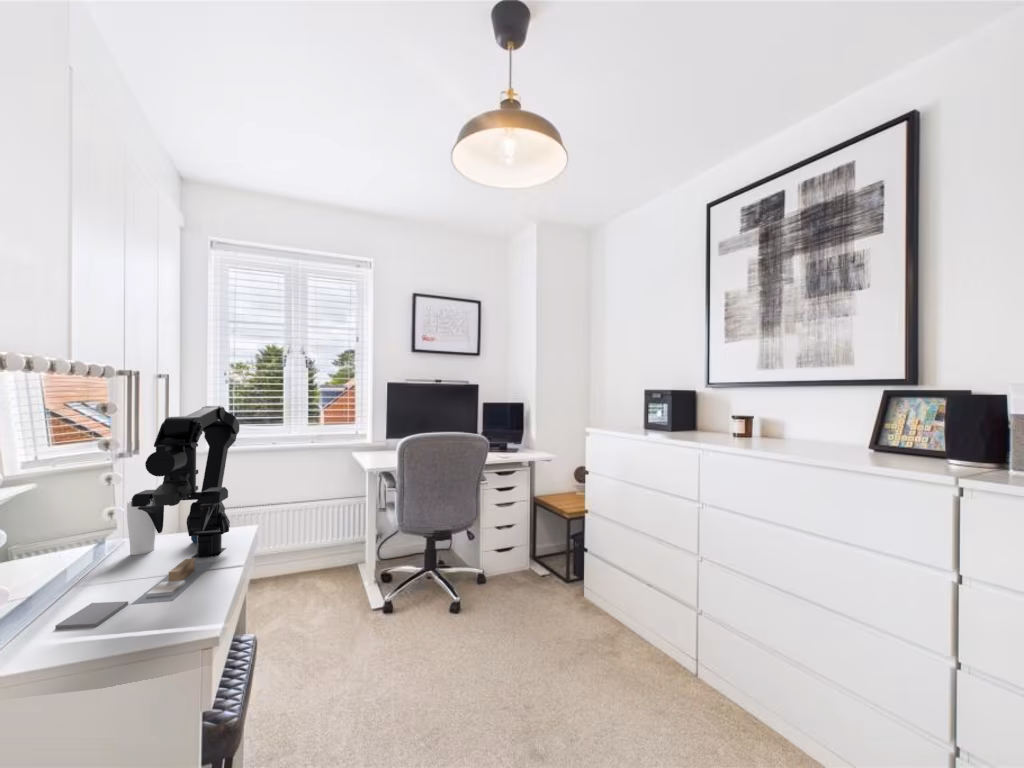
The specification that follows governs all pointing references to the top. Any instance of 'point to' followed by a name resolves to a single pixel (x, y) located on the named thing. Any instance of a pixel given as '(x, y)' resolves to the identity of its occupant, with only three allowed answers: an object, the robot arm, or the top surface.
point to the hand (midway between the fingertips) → (181, 531)
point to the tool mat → (198, 571)
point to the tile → (91, 615)
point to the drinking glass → (140, 530)
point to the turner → (174, 579)
